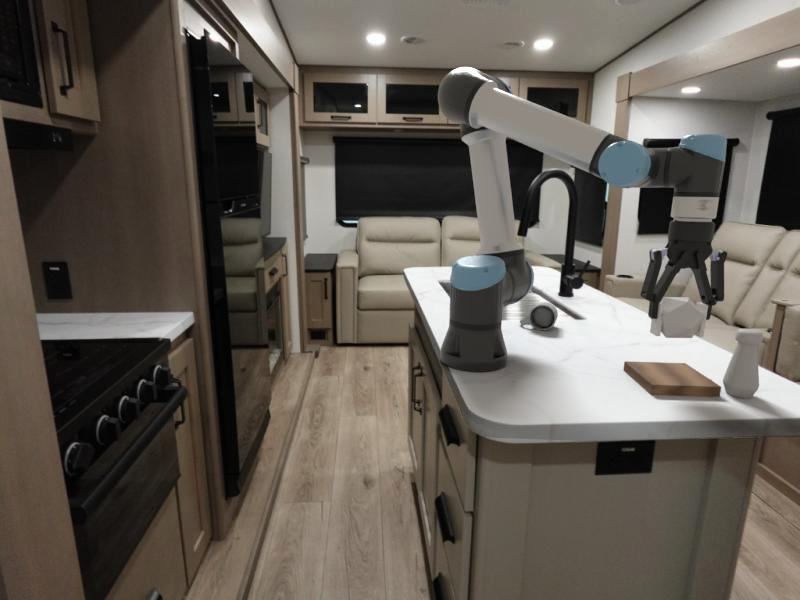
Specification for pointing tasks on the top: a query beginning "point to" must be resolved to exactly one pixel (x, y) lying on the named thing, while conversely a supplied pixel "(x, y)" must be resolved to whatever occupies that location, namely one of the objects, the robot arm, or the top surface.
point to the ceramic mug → (541, 316)
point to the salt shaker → (744, 365)
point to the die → (680, 317)
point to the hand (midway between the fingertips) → (676, 334)
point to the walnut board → (671, 379)
